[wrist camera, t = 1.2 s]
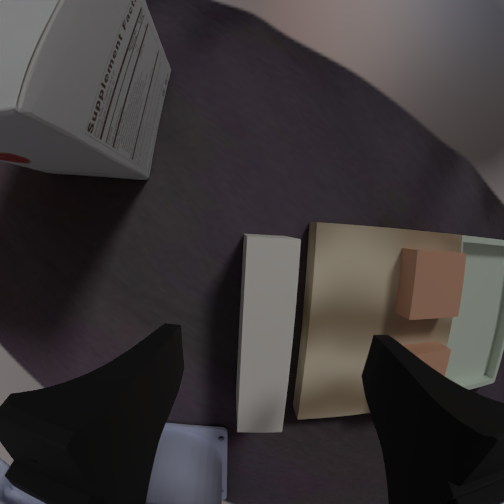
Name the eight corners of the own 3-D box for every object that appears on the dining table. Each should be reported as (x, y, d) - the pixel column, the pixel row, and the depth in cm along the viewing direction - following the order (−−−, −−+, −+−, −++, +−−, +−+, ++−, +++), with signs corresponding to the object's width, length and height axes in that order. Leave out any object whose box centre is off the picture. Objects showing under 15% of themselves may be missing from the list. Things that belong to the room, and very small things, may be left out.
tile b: (442, 310, 20) (458, 316, 18) (395, 312, 20) (409, 320, 18) (449, 250, 20) (466, 253, 18) (402, 247, 20) (417, 250, 18)
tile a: (424, 391, 21) (436, 402, 19) (378, 398, 21) (388, 411, 19) (437, 341, 21) (451, 349, 19) (389, 345, 20) (402, 355, 18)
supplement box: (45, 175, 20) (-109, 141, 5) (72, 70, 19) (-33, -28, 4) (150, 184, 20) (11, 117, 5) (175, 67, 20) (120, -88, 5)
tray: (485, 376, 24) (494, 382, 22) (421, 391, 23) (429, 399, 21) (509, 241, 22) (520, 242, 21) (447, 234, 22) (459, 234, 20)
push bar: (272, 394, 22) (281, 432, 17) (235, 393, 22) (237, 432, 17) (285, 236, 21) (300, 239, 16) (243, 233, 21) (247, 236, 16)
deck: (421, 391, 23) (432, 401, 21) (292, 405, 22) (297, 419, 20) (447, 234, 22) (462, 235, 20) (309, 222, 21) (317, 222, 19)
